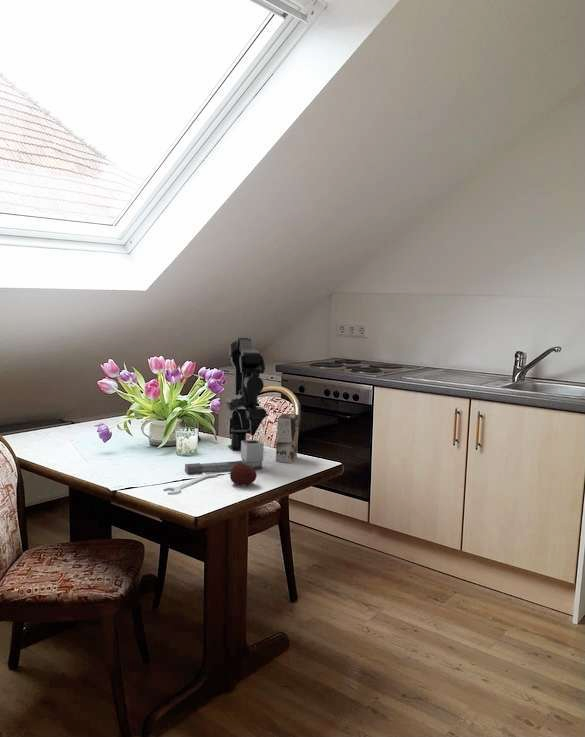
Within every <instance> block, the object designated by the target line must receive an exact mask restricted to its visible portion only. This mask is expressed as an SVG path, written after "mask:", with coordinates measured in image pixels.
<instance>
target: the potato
mask: <svg viewBox="0 0 585 737" xmlns="http://www.w3.org/2000/svg"><path fill="white" fill-rule="evenodd" d="M256 471H257V470H254V469H253V468H252V467H251V466H249V465H247V464H245V463H238V464H236V465H234V466H233V468H232V469H231V471H229V472H230V473H229V478H230V481H231V482H232V483H233V484H235V485H240V486H246V485H247V486H248V485H251V484H253V483H254V482H255V481H256V479H257V472H256Z"/></svg>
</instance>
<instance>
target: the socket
mask: <svg viewBox="0 0 585 737" xmlns="http://www.w3.org/2000/svg"><path fill="white" fill-rule="evenodd" d="M264 446H265V444H264V443H263V442H262V441H260V440H258V439H246V440H243V441H241V450H240V459H241V460H242V459H243V460H244V461H246V462H255V461H262V462H263V461H264V449H265V448H264Z"/></svg>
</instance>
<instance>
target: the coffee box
mask: <svg viewBox="0 0 585 737" xmlns="http://www.w3.org/2000/svg"><path fill="white" fill-rule="evenodd" d="M299 419H300V414H296V413H294V414H293V413H282V414H280V416H278V417H277V427H276V444H275V445H276V446H275V447H276V448H275V449H276V450H275V462H280V463H286V464H287V463H288V464H293V462H294V461H295V460H296V459H297V457H298V443H299V442H298V440H299V422H300V420H299Z"/></svg>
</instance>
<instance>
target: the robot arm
mask: <svg viewBox="0 0 585 737" xmlns="http://www.w3.org/2000/svg"><path fill="white" fill-rule="evenodd" d="M228 356H229V358H230V363H231V365H232V366H233V368H234V395H233V396H231V397H228V398H226V399H224V403H225V406H226V409H228V410H229V411H231V412H230V417H229V418H228V421H227V432H228V434H229V435H230V434H231V440H230V441H231V442H230V444H228V445H227V446H228V447H229V449H231V450H232V451H241V441H243V440H247V434H249V435H251V436H255V435H256V432H257V431H258V429H259V427H260V425H261V424H262V422H263V420H264V419H265V418H266V417H267V410H266V409H265V408H263V407H262V406H260V403H259V397H258V396H260V395H261V392H262V391H263V389H264V380H263V379H262V378H261V377H260V374H261V375H262V374H265V370H266V367H265V366H266V364H265V360H264V359H265V358H264V357H263V355H262V354H261V352H260V351H259V350H256V349H255V348H254V346H253V343H252V339H251V338H249V337H237V338H236V340H235V341H234V342H232V343H231V344H230V345H229V349H228Z"/></svg>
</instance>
